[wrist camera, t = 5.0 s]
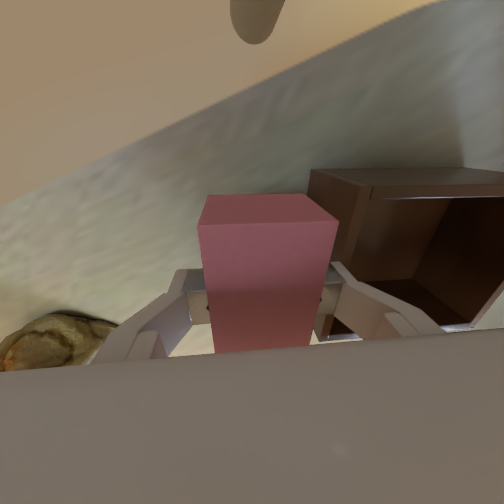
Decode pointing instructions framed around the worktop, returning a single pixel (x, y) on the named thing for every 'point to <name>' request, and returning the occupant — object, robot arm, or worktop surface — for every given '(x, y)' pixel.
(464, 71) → the worktop surface
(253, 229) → the pink rectangular block
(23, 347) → the pastry
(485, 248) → the chest
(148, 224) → the worktop surface
